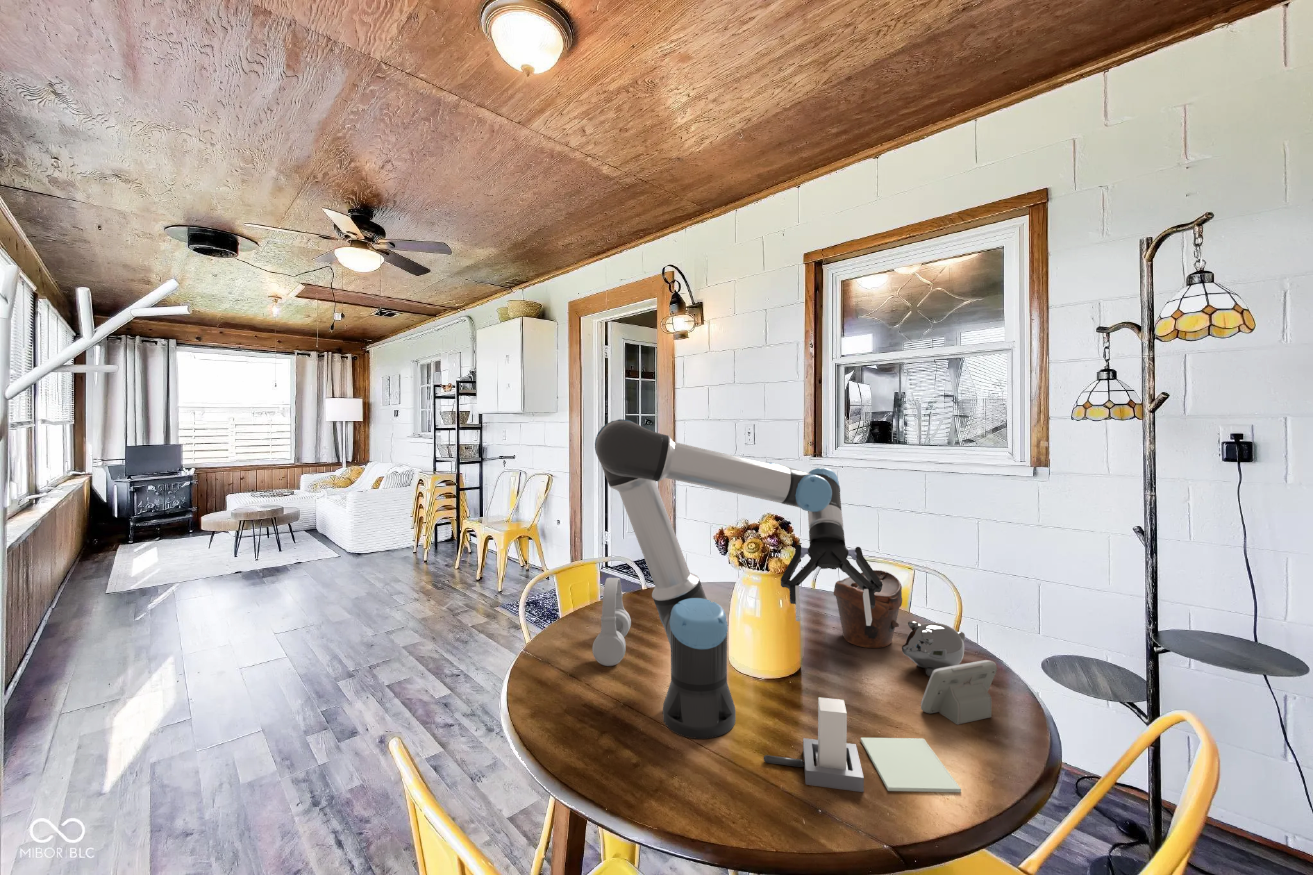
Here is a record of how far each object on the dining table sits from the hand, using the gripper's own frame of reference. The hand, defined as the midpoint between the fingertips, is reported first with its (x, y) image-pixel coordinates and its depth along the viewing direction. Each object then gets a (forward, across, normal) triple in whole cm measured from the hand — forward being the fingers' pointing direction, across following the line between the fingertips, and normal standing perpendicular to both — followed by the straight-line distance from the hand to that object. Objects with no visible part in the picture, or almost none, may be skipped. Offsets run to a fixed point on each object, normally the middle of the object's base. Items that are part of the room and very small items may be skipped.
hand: (833, 620), depth 109 cm
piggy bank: (-5, -26, -37) cm, 46 cm away
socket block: (+25, +5, -6) cm, 26 cm away
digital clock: (+8, -27, -24) cm, 37 cm away
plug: (+25, +2, -6) cm, 26 cm away
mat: (+22, -12, -9) cm, 27 cm away
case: (-16, -14, -48) cm, 53 cm away
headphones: (-3, +54, -34) cm, 64 cm away
